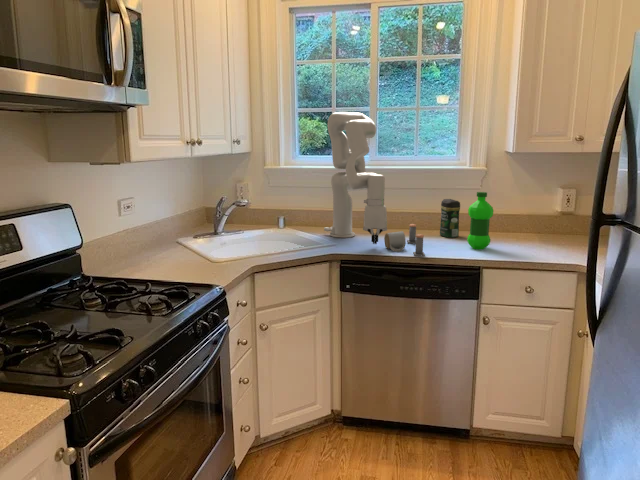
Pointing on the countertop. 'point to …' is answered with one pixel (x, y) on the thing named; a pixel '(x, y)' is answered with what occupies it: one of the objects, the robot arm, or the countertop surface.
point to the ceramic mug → (395, 241)
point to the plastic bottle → (480, 222)
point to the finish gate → (416, 240)
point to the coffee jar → (450, 218)
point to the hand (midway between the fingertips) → (374, 243)
